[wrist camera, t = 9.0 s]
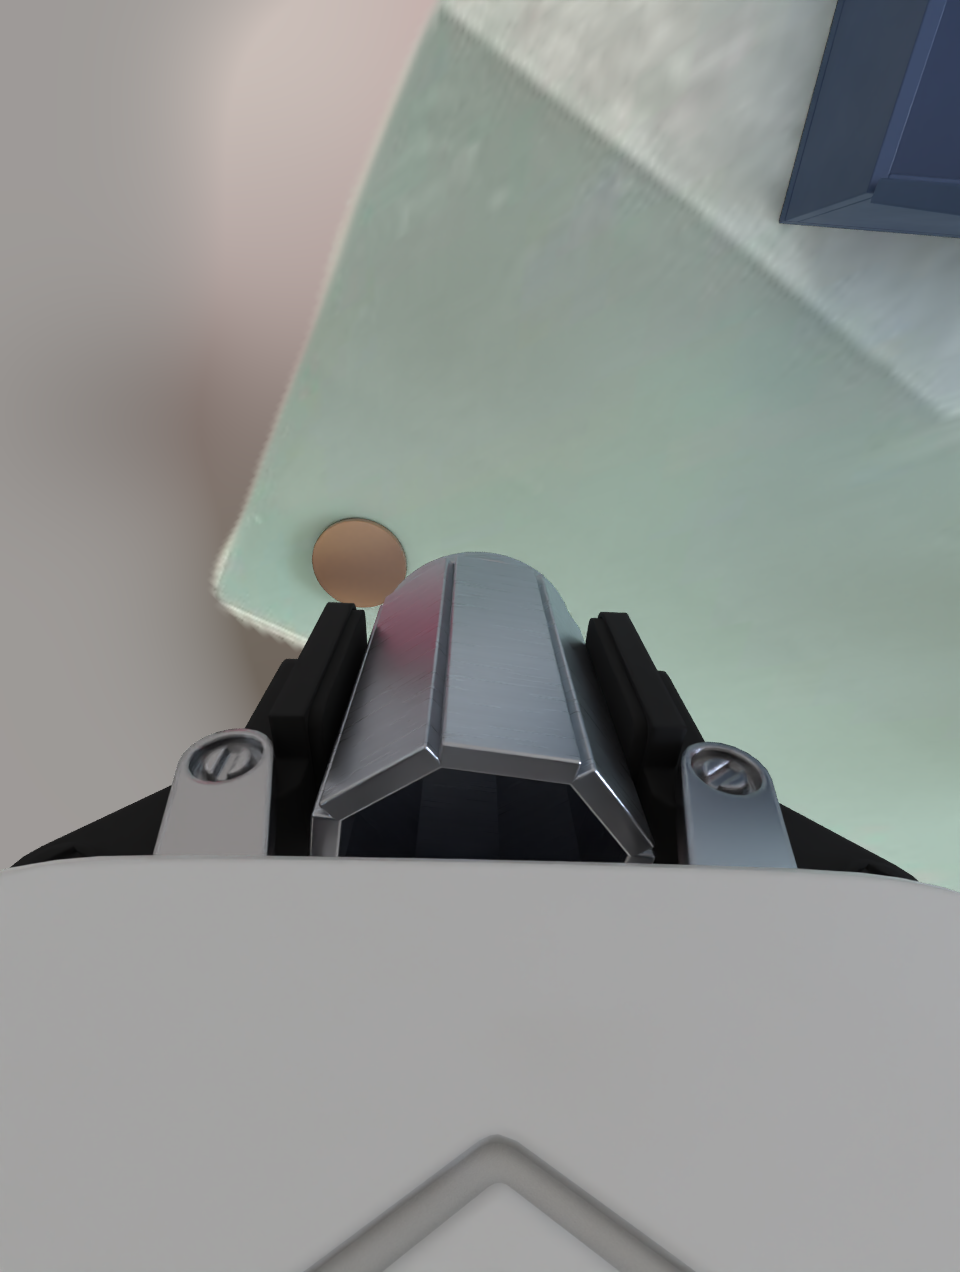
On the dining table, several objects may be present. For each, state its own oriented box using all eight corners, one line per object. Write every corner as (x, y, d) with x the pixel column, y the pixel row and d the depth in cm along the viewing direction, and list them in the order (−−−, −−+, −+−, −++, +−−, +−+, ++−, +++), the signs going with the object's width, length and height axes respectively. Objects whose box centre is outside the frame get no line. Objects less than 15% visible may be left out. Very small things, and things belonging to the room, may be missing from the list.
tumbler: (339, 619, 13) (234, 851, 7) (503, 510, 12) (532, 686, 6) (453, 744, 15) (441, 1004, 9) (605, 661, 14) (700, 904, 8)
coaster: (294, 550, 33) (292, 553, 33) (367, 499, 31) (366, 502, 31) (354, 619, 35) (352, 623, 35) (425, 575, 34) (424, 578, 33)
